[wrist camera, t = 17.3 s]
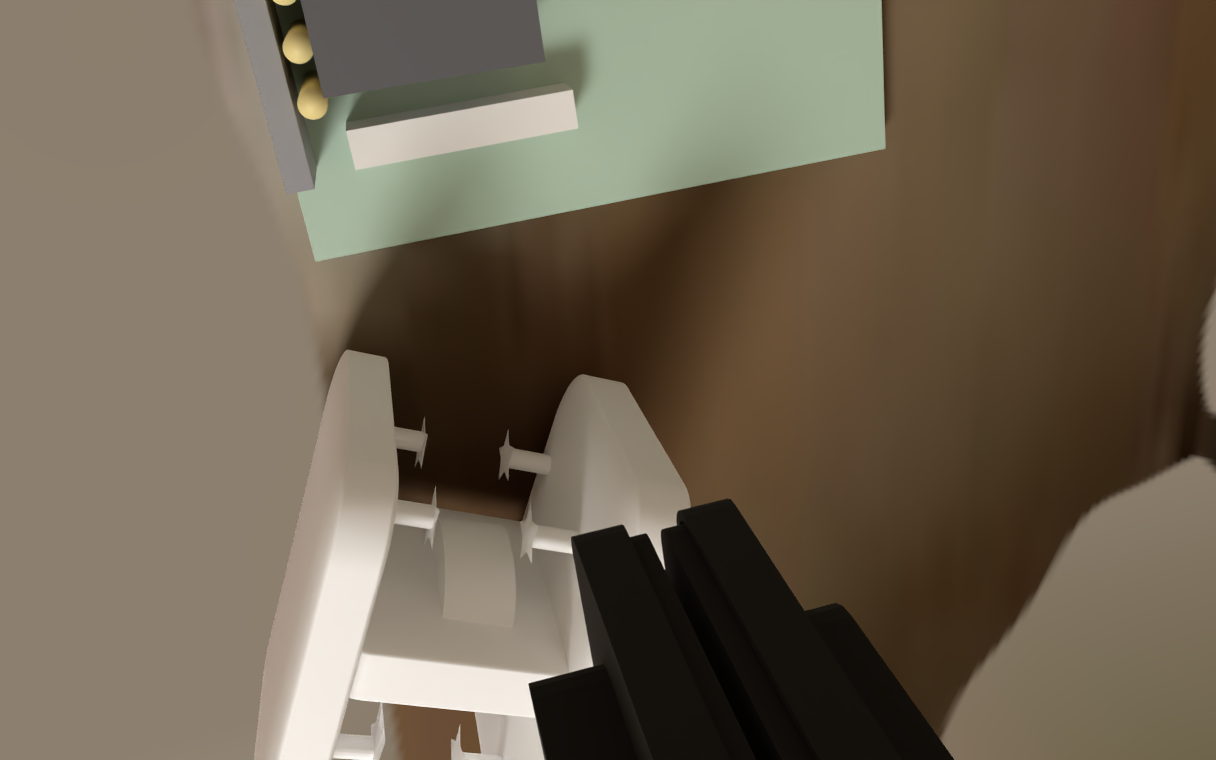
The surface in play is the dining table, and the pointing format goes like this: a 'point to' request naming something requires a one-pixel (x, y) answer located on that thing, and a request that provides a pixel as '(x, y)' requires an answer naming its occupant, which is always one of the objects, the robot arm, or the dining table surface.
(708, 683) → the robot arm
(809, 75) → the board
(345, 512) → the cable organizer
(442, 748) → the dining table surface
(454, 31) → the plug
